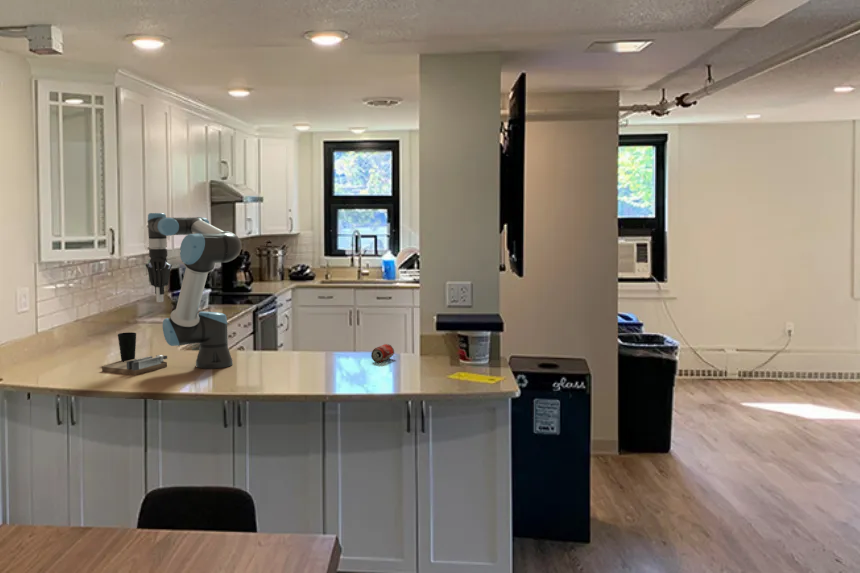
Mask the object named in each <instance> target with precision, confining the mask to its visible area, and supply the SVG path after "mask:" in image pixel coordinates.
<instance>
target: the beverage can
mask: <svg viewBox="0 0 860 573" xmlns="http://www.w3.org/2000/svg"><path fill="white" fill-rule="evenodd" d="M394 354H395V350H394V348H393V346H392V344H388V343H384V344H383V345H379V346H377V347H374V348H373V350H372V351H371V354H370V356H371V357H370V358H371V360H373V361H374V362H375V363H382V362H384V361H386V360H389V359H391V358H392V356H394Z"/></svg>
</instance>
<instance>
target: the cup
mask: <svg viewBox="0 0 860 573" xmlns="http://www.w3.org/2000/svg"><path fill="white" fill-rule="evenodd" d="M117 338H118V345H119V346H118V347H119V353H120V354H119V355H120V359H121V360H120V361H121V362H123V361H128V360H132V359H136V346H137V332H129V331H128V332H119V333H118V334H117Z"/></svg>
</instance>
